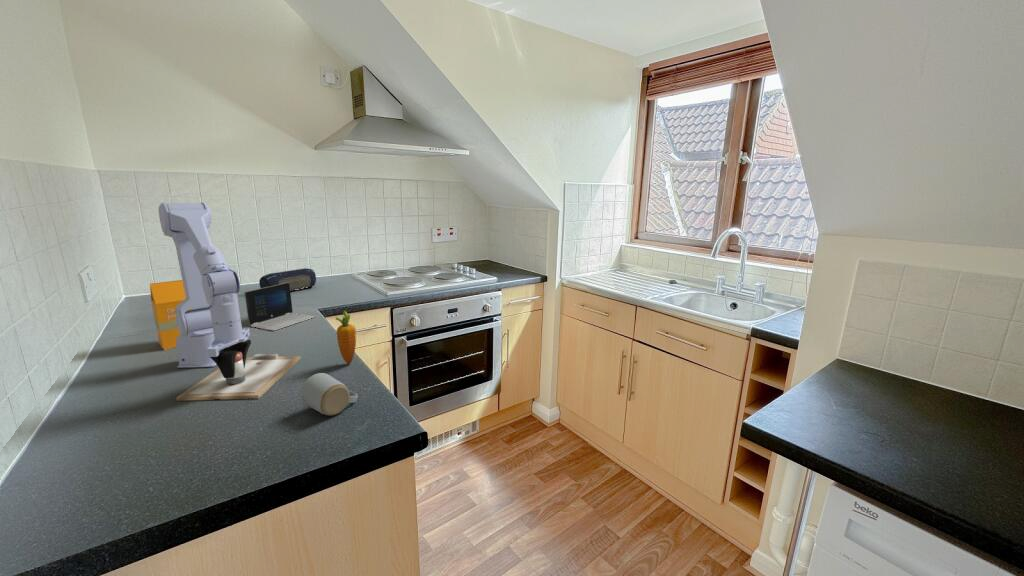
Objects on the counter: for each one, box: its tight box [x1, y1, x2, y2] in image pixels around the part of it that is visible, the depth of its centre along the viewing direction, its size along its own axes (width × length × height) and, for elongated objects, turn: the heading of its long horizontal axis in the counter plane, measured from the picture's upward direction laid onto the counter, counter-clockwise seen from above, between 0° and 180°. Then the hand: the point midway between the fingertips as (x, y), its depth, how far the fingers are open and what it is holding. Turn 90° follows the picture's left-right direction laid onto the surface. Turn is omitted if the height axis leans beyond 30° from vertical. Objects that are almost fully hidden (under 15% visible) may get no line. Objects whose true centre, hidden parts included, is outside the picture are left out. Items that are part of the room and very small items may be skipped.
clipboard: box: [176, 353, 302, 402], centre depth 109 cm, size 18×24×2 cm
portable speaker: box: [258, 267, 317, 290], centre depth 202 cm, size 25×10×10 cm, turn 145°
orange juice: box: [149, 279, 194, 351], centre depth 131 cm, size 8×9×20 cm
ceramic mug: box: [300, 372, 359, 417], centre depth 94 cm, size 11×8×8 cm
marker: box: [226, 351, 245, 384], centre depth 104 cm, size 4×4×7 cm
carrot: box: [335, 311, 357, 365], centre depth 116 cm, size 5×5×15 cm
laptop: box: [244, 282, 316, 332], centre depth 154 cm, size 18×12×13 cm
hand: (234, 373), depth 104 cm, fingers closed on marker, 4 cm apart
